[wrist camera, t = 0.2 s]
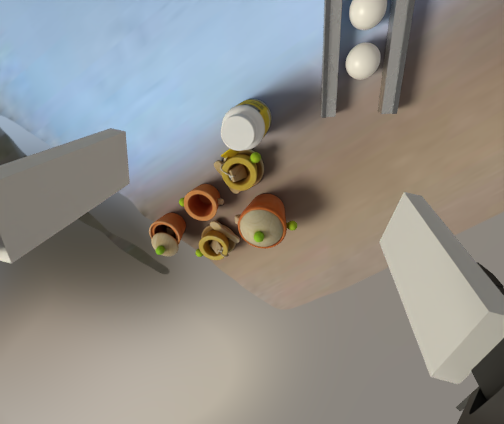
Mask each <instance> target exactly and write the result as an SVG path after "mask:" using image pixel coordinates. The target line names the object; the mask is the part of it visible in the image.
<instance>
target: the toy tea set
mask: <svg viewBox="0 0 504 424" xmlns="http://www.w3.org/2000/svg"><path fill="white" fill-rule="evenodd" d="M221 157H224V160H223V163H222V162H221V161H220V160H217V161H216V162H215V163H214V167H215V168H216V170H217V171H218V172H219V173H220V174H221V175H222V177H223V180H224V181H225V183H226V184H227V185H228V186H229V189H230V190H231V191H232V192H233V193H235V194H237V193H239V192H240V191H244V190H247V189H249V188H251V187H252V186H255V185H256V184H258V183H259V182H260V180H261V179H262V176H263V173H264V164H263V161H262V159H261V155H260V154H259V153H258V152H255V151H253V150H251V149H249V150H242V151H236V150H233V149H229V150H228V151H226V152H225V153H224V154H222V155H221ZM179 204H180V205H181V206H183V207H185V209H186V211H187V213H188V214H189V215H190V216H191V217H193V218H194V219H196V220H200V221H207V220H210V219H212V218H213V217H214V216H215V215H216V212H217V209H218V206H219V204H220V205H223V204H224V200H223V199H220V194H219V192H218V190H217V189H216V188H215V187H214V186H212V185H209V184H202V185H200V186H198V187H196V188H195V189H193V190H192V191H190V192H189V193H188V194H187V195H186V196H185V198H181V199H180V200H179ZM235 223H236V224H238V230H239V233H240V235H241V237H242V238H243V239H244V240H245V241H246V242H247V243H249V244H250V245H252V246H255V247H258V248H271V247H274V246H276V245H278V244H279V243H280V242H281V241H282V240H283V239H284V237H285V235H286V230H287V228H288V229H289V230H295V229H296V228H297V223H296V222H295V221H290V222H288V223H286V217H285V209H284V205H283V203H282V201H281V200H280V199H279V198H278V197H276V196H275V195H272V194H261V195H258V196H257V197H255V198H254V199H253V201H252V202H251V203H250V204H249V205H248V207H247V208H246V209H245V210H244V211H243V213H242V214H241V215H235ZM185 228H186V223H185V221H184V219H183V218H182V217H181V216H180V215H178V214H176V213H168V214H166V215H164V216H163V217H161V218H160V219H158V220H157V221H155V222H154V223H153V224H152V225H151V226H150V228H149V233H150V236H151V239H152V246H153V247H154V249H155V250H156V253H157V254H158V255H164V256H173V255H174V254H176V253H177V251H178V244H179V242H180V240H181V238H182V235H183V233H184V231H185ZM201 237H202V239H201V240H200V242H199V249H197V250H196V255H197V256H198V257H201V256H203V255H204V256H205V257H207V258H209V259H212V260H220V259H223V258H224V257H228V253H229V252H231V251H232V250H233V249H234V247H235V245H236V243H239V241H240V238H239V237H238V236H237V235H235V234H234V233H233V232H232V230H230V229H229V228H228V227H226V226H224V225H222V224H220V223H219V222H217V221H211V222H210V225H208V226H207V227H206V228H205V229H204V230H203V232H202V236H201Z"/></svg>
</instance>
